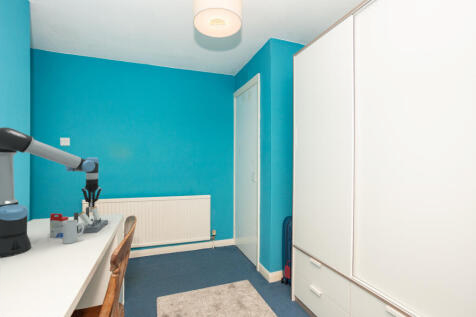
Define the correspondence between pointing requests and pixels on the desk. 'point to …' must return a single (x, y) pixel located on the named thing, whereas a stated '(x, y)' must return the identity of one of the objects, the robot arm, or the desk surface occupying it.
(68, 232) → the mug
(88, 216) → the cable post right
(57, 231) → the ink box
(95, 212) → the paddle
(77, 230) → the cable post left
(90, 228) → the breaker panel
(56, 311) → the desk surface
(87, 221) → the paddle
